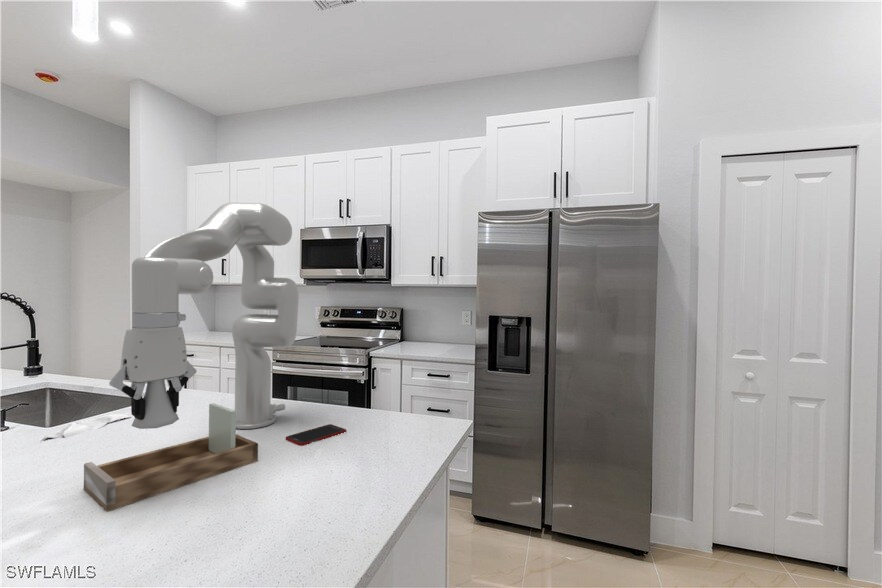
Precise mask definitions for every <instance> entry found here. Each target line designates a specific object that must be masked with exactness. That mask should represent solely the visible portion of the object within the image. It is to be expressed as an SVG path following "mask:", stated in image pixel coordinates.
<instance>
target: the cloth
mask: <svg viewBox="0 0 882 588" xmlns="http://www.w3.org/2000/svg"><path fill="white" fill-rule="evenodd" d="M129 415H130V416H129ZM132 416H133V415H132V413H131V412H125V413H122V414H121V413H118V414H116V413H115V414H106V415H103V416H100V417H99V416H98V417H95V418H90V419H85V422H84V420H80V421H81V422H83V423H80V424H79V422H78V421H74V422H71V423H70V424H67V425H68V427H66V426H64V427H63V428H60V429H59V430H57V431H55V432H53V433H52V434H51V435H48V436H44V437H43V438H41V439H40V440H39V443H42V442H44V441H46V440H47V439H48V438H49V439H59V438H64V439H66V438H67V439H68V438H70V436H71V437H73V435H74V436H77V434H78V435H81V434H80V433H82V434H85V433H89V432H91V431H90V430H92V429H96V430H98V428H99V429H101V428H103V427H104V426H106V425H107V424H110V423H113V422H118V421H117V420H119V419H120V420H119V421H122V420H125V419H130V418H131V417H132ZM124 418H125V419H124ZM121 419H122V420H121ZM88 420H90V421H88ZM86 421H87V422H86ZM65 430H66V431H65ZM64 431H65V432H64ZM88 431H89V432H88ZM92 431H93V430H92ZM84 432H85V433H84Z"/></svg>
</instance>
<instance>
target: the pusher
mask: <svg viewBox="0 0 882 588" xmlns="http://www.w3.org/2000/svg"><path fill="white" fill-rule="evenodd" d="M236 429H237V428H236V411H235V409H231V408H228V407H225V406H222V405H219V404H218V403H212V402H211V403H209V405H208V436H209V449H208V450H209V451H211V452H213V453H215V454H217V453H220V452H224V451H227V450H230V449H234V448H235V434H237V433H236Z"/></svg>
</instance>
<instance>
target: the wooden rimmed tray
mask: <svg viewBox="0 0 882 588" xmlns="http://www.w3.org/2000/svg"><path fill="white" fill-rule="evenodd" d="M208 449H209V435H208V436H205V437H202V438H197V439H194V440H190V441H186V442H182V443H179V444H174V445H170V446H168V447H163V448H159V449H156V450H152V451H148V452H147V451H146V452H143V453H139V454H136V455H132V456H128V457H125V458H121V459H116V460H113V461H108V462H105V463H101V464H98V465H97V464H95V463H94V462H93V461H89V462H86V463H83V490H84V491H85V493H86V494H88V496H90V497H91V498H92V499H93V500H94V501H95V502H96V504H98V505H99V506H100V507H101V508H102V509H103V510H104V511H106V512H110V511H113V510H116V509H119V508H121V507H124V506H128V505H130V504H133V503H136V502H139V501H143V500H145V499H148V498H151V497H154V496H158V495H160V494H163V493H166V492H170V491H172V490H175V489H178V488H181V487H184V486H187V485H190V484H192V483H197V482H199V481H202V480H205V479H208V478H211V477H214V476H217V475H221V474H223V473H225V472H228V471H231V470H234V469H238V468H241V467H243V466H246V465H249V464H253V463H256V462H258V461H259V443H258V442H256V441H253V440H251V439H249V438H246V437H243V436H241V435H239V434H237V433H236V434H235V448H234V449H230V450H227V451H224V452H220V453H217V454H215V453H213V452H211V451H209V450H208Z"/></svg>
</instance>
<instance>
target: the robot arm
mask: <svg viewBox="0 0 882 588" xmlns="http://www.w3.org/2000/svg"><path fill="white" fill-rule="evenodd" d="M292 236H293V228H292V224H291V222H290V220H289V219H288V218H287V217H286V216H285V215H284V214H283V213H281V212H279V211H278V210H277V209H275V208H273V207H272V206H269V205H268V204H264V203H261V202H227V203H224V204H222V205H220V206H219V207H218V208H217V209H216V210H215V211H214V212H212V214H211V215H210V216H209V217H208V218H207V219H205V220H204V222H203V223H201V225H199V227H197V228H196V229H192V230H189V231H187V232H184V233H181V234H179V235H177V236H174V237H172V238H169V239H166V240H164V241H163V242H160V243H158V244H157V245H155V246H154V247H152V249H151V250H149V252H147V253H146V254H145V255H144V256H143V257H137V258H134V260H133V261H132V264H131V328H128V329H126V330H125V334H124V339H123V343H122V349H121V359H120V360H121V361H120V369H119V370H118V371H117V373H116V374H115V375H114V377H112V378H111V380H110V381H109V382H108V383H109V384H108V385H109V386H110V387H112V388H115V389H116V390H118V391H120V392H122V393H124V394H125V395H126V396H128V397H129V398H130V399H131V400H130V402H131V403H130V404H131V405H130V406H131V409H130V410H131V412H130V413H132V415H131V416H133V417H134V419H135V418H137V419H139V420H143V419H144V417H145V399H144V397H143V393H144V390H145V386H146V384H147V382H152V381H158V380H164V379H165V380H166V383H167V386H168V390H167V389H166V391H167V394H168V396H169V398H170V401H171V403H172V407H173V410H174V412H176V413H177V412H178V407H179V405H180V392H181V391H182V389H183V387H184V386H185V385H186V384H187V383H188V381H189V380H190V379H191V378H192V377H194V376H195V375H196V373H197V369H196V368H195V367H194V366H193V365H192V364H191V363H190V362H189V361H188V355H187V353H188V351H187V346H186V338H185V334H184V330H183V327H182V326H179V325H181V324H180V323H181V322H184V321H186V320H187V316H186V314H184V313H180V312H181V311H179V310H180V309H179V303H180V302H179V298H180V296H179V295H199V294H202V293H205V292H207V290H209V289H210V288H211V286H212V284H213V282H214V272H213V269H212V268H211V266H210V265H209V264H208V263H206V262H210V261H213V260H216V259H220V258H222V257H225V256H227V255H228V254H230V252H231V251H232V249H233V248H234V247H235V246H237V249H238V251H239V253H240V255H241V258H242V274H241V275H242V277H241V286H240V287H241V290H240V296H241V297H240V301H241V303H242V305H243V307H245V308H246V309H250V310H251V309H252V310H264V311H266V310H267V311H269V310H270V311H277V313H278V314H265V313H263V314H262V313H248V314H246V313H245V314H242V315H240V316H239V317H237V318H236V319H235V320H234V321H233V323H232V327H231V334H232V340H233V344H234V345H233V347H234V354H235V360H234V362H235V367H234V368H235V372H234V411H236V429H239V430H240V429H241V430H248V429H249V430H252V429H259V428H263V427H267V426H270V425H272V424H274V423H275V422H276V420H277V419H276V418H277V416H276V415H275V414H276V413H277V412H280V411H284V410H286V404H285V403H280V404H276V403H273V404H272V403H271V394H272V393H271V386H272V385H271V384H272V383H271V381H272V379H271V378H272V374H271V373H272V362H271V357H270V356H269V353H268V352H267V350H266V349H265V348H281V349H283V348H289V347H291V346H292V345H293V344H294V343H295V340H296V338H297V330H298V313H299V299H300V298H299V289H298V285H297V283H296V282H295V281H294V280H293V279H291V278H287V277H274V276H275V260H274V257H273V256H272V254H271V253H270V252H269V250H268V249H267V248H266V247H265V246H272V247H273V246H277V247H278V246H279V247H280V246H281V247H282V246H285V245H288V243H289V242H290V241H291V239H292ZM124 381H129V382H130V383H131V385H130V386H129V385H128V384H125V383H124Z"/></svg>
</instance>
